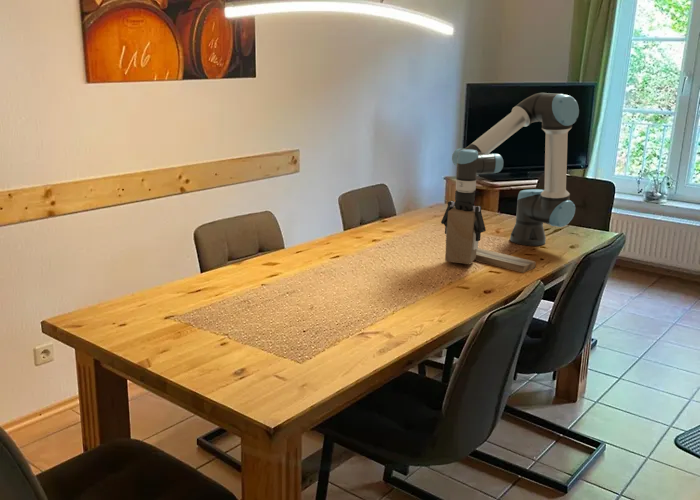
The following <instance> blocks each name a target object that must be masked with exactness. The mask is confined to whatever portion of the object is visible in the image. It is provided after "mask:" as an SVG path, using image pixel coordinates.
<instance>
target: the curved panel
mask: <svg viewBox="0 0 700 500" xmlns="http://www.w3.org/2000/svg"><path fill="white" fill-rule="evenodd" d="M475 260H476V261H475ZM473 261H475V262H479V261H480V262H479V263H484V264H488V265H492V266H496V267H500V268H503V269H507V270H511V271H515V272H519V273H525V272H528V271H531V270H533V269H536V264H537V263H536V261H535V260H531V259H525V258H522V257H519V256H515V255H509V254H505V253H500V252H497V251H494V250H489V249H485V248H480V247H478V249H477V251H476V258H475V259H474V260H473Z"/></svg>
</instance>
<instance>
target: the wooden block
mask: <svg viewBox="0 0 700 500" xmlns="http://www.w3.org/2000/svg"><path fill="white" fill-rule="evenodd" d="M475 220H477V219H476V215H475V211H474V209H473V211H468V212H467V211H464V210H457V209H456V208H455V206H454V207H453V208H452V209H451V210H449V211H448V220H447V237H446V236H445V257H444V260H445V261H446V262H451V263H456V264H457V263H458V264H465V265H471V264H472V262H473V261H475V260H474V259H475V258H476V251H477V249H475V250H473V249H472V246H473V233H475V230H474V223H475Z"/></svg>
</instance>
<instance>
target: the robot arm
mask: <svg viewBox="0 0 700 500" xmlns="http://www.w3.org/2000/svg"><path fill="white" fill-rule="evenodd" d="M579 114H580V109H579V104H578V101H577V100H576V99H575V98H574V97H573V96H571V95H570V94H569V95H568V94H564V93H550V92H548V93H547V92H538V93H534V94H532V95H530V96H528V97H526V98H524V99H523V100H522V101H520V102H519V103H518V104H516V105H515V106H514V107H512V109H511V112H510V113H508V114H506V116H505V117H503V118H502V119H501V120H499V121H498V122H497V123H495V124H494V125H493V126H492V127H490V129H488V130H487V131H485V132H484V133H482V135H480V136H479V137H477V138H476V140H474V141H473V142H472V143H470V144H469V145H468V146H466V147H465V148H463V147H462V148H461V147H460V148H457V149H455V150H454V151H453V153H452V156H451V161H452V163H453V165H454V166H455V167H456V176H455V177H456V178H455V179H456V180H455V190H456V191H455V192H454V193H455V194H454V200H455V201H454V200H449V201H447V207H446V210H445V212H444V214H443V217H442V219H441V221H440V223H441V225H444V234H445V238H446V237H447V220H448V211H449V210H451V209H452V208H453V207H455V208H456V209H457V210H464V211H467V212H468V211H473V209H474V211H475V215H476V219H477V220H475V223H474V230H475V233H473V246H472V249H473V250H475V249H478V248H479V242H480V241H481V234H482V233H483V232H486V231H487V230H486V229H487V228H486V225H485V221H484V218H483V214H482V205H475V200H476V190H477V189H476V188H477V175H487V174H492V175H493V174H496V173H497V174H498V173H500V172H501V171H502V170H503V168H504V159H503V156H502V155H501V154H499V153H495V152H494V153H493V152H492V151H494V150H495V149H496V148H498V147H499V146H500V145H502V144H503V143H504V142H505V141H506V140H508V139H509V138H510V137H511V136H513V135H514V134H515V133H517V132H518V131H519V130H520V129H522V128H523V127H528V126H530V125H531V124H532V123H538V122H539V123H541V130H542V131H543V132H544V133H545V143H544V145H545V147H544V151H545V153H544V186H543V187H544V188H543V189H538V188H536V189H533V188H532V189H523V190H520V191H519V192H518V195H517V199H516V200H517V201H516V215H515V223H514V226H513V228H512V231H511V233H510V238H509V240H510V241H511V242H512V243H514V244H516V245H523V246H542V245H543V246H544V245H545V244H546V240H547V239H546V238H547V237H546V233H545V228H544V224H547V225H549V226H552V227H557V228H558V227H559V228H562V227H566V226H567V225H568V224H570V222H571V221H572V220H573V219H574V217H575V214H576V205H575V203H574V201H572V200H570V196H571V193H570V192H569V191H568V190H567V170H568V169H567V168H568V167H567V165H568V134H569V131H570V130H571V129H572V128H573V124H575V123H576V122H577V119H578V118H579ZM491 152H492V153H491Z"/></svg>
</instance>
